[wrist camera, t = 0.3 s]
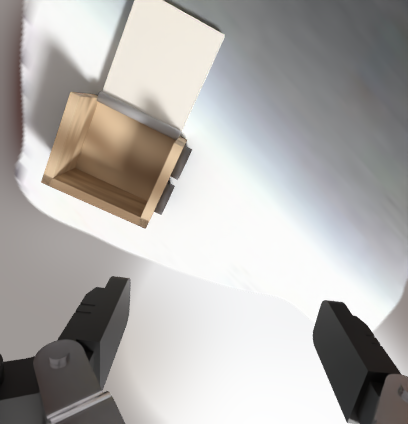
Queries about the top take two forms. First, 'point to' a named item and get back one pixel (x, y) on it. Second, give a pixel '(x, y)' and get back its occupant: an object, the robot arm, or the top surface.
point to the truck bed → (113, 160)
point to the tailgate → (160, 66)
